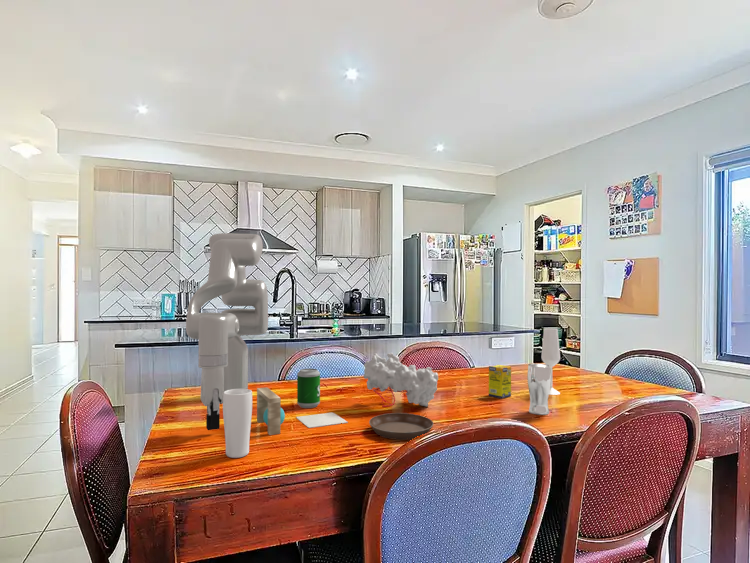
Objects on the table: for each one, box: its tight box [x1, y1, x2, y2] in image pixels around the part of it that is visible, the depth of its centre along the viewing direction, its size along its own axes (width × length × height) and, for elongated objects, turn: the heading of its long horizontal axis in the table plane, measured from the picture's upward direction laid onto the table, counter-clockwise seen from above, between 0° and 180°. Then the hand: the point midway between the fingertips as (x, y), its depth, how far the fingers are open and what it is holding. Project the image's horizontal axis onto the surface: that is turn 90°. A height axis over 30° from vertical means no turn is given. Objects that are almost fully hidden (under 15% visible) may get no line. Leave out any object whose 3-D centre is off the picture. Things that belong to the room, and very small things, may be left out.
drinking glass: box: [222, 389, 253, 459], centre depth 115 cm, size 7×7×15 cm
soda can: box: [296, 368, 321, 409], centre depth 161 cm, size 8×8×12 cm
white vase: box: [527, 363, 551, 416], centre depth 153 cm, size 7×7×15 cm
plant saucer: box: [368, 412, 434, 441], centre depth 133 cm, size 18×18×3 cm
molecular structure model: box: [362, 352, 439, 408], centre depth 161 cm, size 20×18×25 cm
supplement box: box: [488, 364, 512, 399], centre depth 176 cm, size 6×6×11 cm
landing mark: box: [295, 412, 349, 429], centre depth 144 cm, size 12×12×1 cm
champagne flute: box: [541, 327, 561, 396], centre depth 181 cm, size 7×7×24 cm
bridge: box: [256, 386, 282, 436], centre depth 137 cm, size 3×15×10 cm, turn 26°
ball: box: [263, 407, 286, 426], centre depth 137 cm, size 6×6×6 cm
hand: (212, 428), depth 130 cm, fingers closed
